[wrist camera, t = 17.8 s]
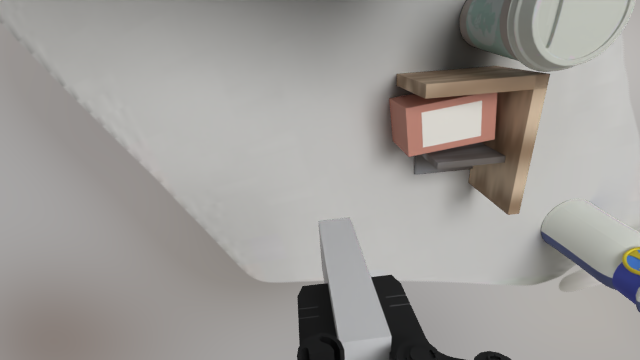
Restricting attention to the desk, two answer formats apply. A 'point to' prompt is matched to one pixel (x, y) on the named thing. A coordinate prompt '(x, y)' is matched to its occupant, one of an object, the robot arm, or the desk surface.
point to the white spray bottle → (596, 244)
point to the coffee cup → (544, 29)
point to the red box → (441, 121)
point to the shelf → (510, 129)
